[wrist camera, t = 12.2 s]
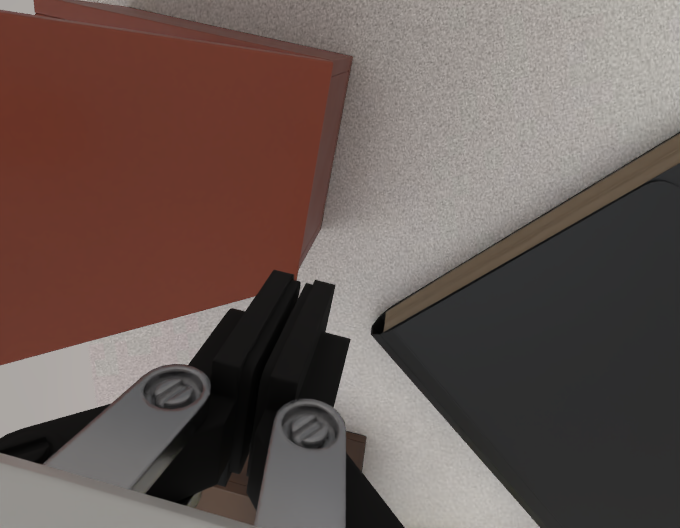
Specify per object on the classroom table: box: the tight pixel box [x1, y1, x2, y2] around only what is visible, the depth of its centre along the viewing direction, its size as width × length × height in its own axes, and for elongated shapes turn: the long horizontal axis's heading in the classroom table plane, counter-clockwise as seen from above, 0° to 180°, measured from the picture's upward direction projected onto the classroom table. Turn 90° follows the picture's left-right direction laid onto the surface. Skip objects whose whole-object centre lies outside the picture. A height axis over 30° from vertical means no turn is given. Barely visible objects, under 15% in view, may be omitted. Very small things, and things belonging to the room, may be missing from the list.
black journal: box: [371, 132, 680, 528], centre depth 33 cm, size 33×4×24 cm
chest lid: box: [0, 10, 333, 365], centre depth 18 cm, size 15×12×1 cm
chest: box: [34, 0, 353, 270], centre depth 27 cm, size 15×12×8 cm
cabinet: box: [195, 431, 366, 526], centre depth 40 cm, size 14×12×9 cm
